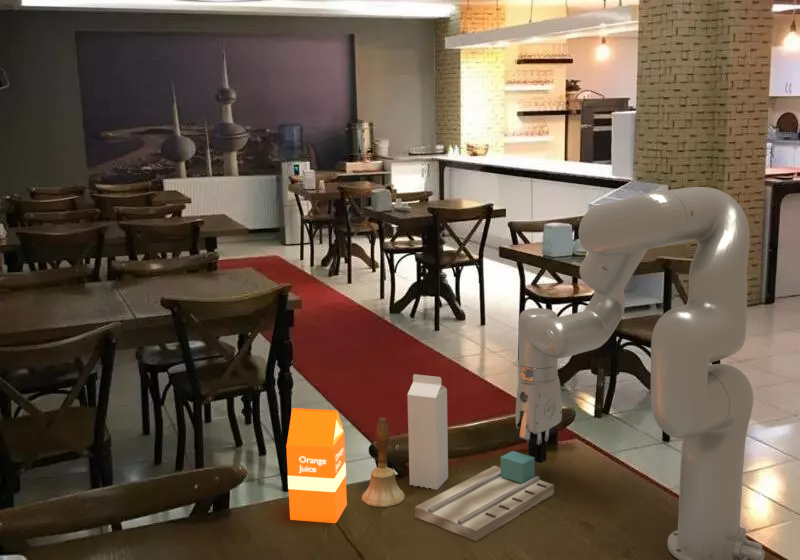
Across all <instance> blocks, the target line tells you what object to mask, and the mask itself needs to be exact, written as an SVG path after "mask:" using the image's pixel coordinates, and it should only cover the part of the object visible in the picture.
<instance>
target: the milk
mask: <svg viewBox="0 0 800 560" xmlns="http://www.w3.org/2000/svg"><path fill="white" fill-rule="evenodd" d="M407 426H408V427H407V429H408V430H407V431H408V433H407V435H408V436H407V437H408V464H409V465H408V469H409V470H408V471H409V474H408V476H409V486H411V485H413V486H412V487H417V486H420V487H419V488H423V487H425V489H429V488H431V489H430V490H434V491H437V490H438V489H440V488H441V487H442V485H443V484H444V483H445V482H446V481H447V480H448V479H449V454H448V453H449V449H448V447H449V445H448V444H449V443H448V436H449V435H448V389H447V388H446V387H445V386H444V385H443V384H442V378H441V376H433V375H432V376H431V375H423V374H416V373H414V374H413V375H412V384H411V385H410V388H409V390H408V392H407ZM438 491H439V490H438Z"/></svg>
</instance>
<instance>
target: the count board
mask: <svg viewBox="0 0 800 560" xmlns="http://www.w3.org/2000/svg"><path fill="white" fill-rule="evenodd" d="M554 495H555V484H554V483H550V482H547V481H544V480H541V477H540V476H537V475H535V477H534V478H532V479H530V480H528V481H526V482H525V483H523V484H522V483H519V482H516V481H513V480H510V479H507V478H504V477H501V466H497V465H493V466H491V467H490V468H487V469H485V470H483V471H481V472H479V473H477V474H476V475H474V476H472V477H470V478H468V479H466V480H464V481H462V482H460V483H458V484H456V485H454V486H452V487H450V488H448V489H447V490H445V491H442V492H441V493H439V494H436V495H435V496H433V497H431V498H429V499H427V500H424V501H423V502H422V503H421V502H420V504H417V505H416V506H414V517H415V518H417V519H419V520H422V521H424V522H427V523H428V524H429V523H430V524H432V525H434V526H436V527H439V528H442V529H444V530H447V531H450V532H452V533H454V534H457V535H459V536H461V537H464V538H466V539H469V540H472V541H474V542H478V541H479V540H481V539H482V538H484V537H486V536H487V535H489V534H491V533H492V532H494V531H495V530H497V529H499V528H501V527H502V526H504V525H505V524H508V523H509V522H510V521H512V520H514V519H516V518H517V517H519V516H520V514H521V513H522V514H524V513H525V512H524V511H526V510H527V511H529V510H530V509H532V508H533V506H534V507H535V506H537V505H539V504H540V503H542V502H544V501H546V500H547V499H549V498H551V497H553V496H554ZM543 500H544V501H543ZM541 501H542V502H541ZM538 503H539V504H538ZM531 507H532V508H531ZM528 509H529V510H528ZM527 511H526V512H527ZM523 512H524V513H523ZM522 514H521V515H522Z"/></svg>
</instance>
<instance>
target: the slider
mask: <svg viewBox="0 0 800 560" xmlns="http://www.w3.org/2000/svg"><path fill="white" fill-rule="evenodd" d="M499 458H500V462H499V463H500V467H501V477H504V478H507V479H510V480H513V481H516V482H519V483H522V484H523V483H525V482H526V481H528V480H530V479H532V478H534V477H535V476H536V473H535V471H536V469H535V468H536V466H535V465H536V464H535V457H531V456H529V454H528V455H527V454H524V453H521V452H518V451H514V450H512V451H509V452H507V453H505V454H504V455H501V456H500V457H499Z"/></svg>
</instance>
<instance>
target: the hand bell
mask: <svg viewBox="0 0 800 560" xmlns="http://www.w3.org/2000/svg"><path fill="white" fill-rule="evenodd" d="M375 441H376V446H377V449H378V450H377V451H378V457H377V459H378V460H377V462H378V463H377V467H376V468H374V469H372V470H371V472H370V479H369V484H368V487H367V488H366V490H364V492H363V493H362V496H361V501H362V502H363V503H364V504H366V505H367V506H368V505H369V506H371V507H376V508H377V507H378V508H388V507H393V506H394V507H395V506H396V505H398V504H399V505H400V504H401V503H402V502H403V501H404V500H405V498H406V494H405V493H404V491H403V490H402V489H400V487H399V486H398V484H397V480H396V479H397V478H396V475H395V471H394V469H393V468H390V467H388V451H387V450H388V445H389V442H390V429H389V426H388V423H387V419H386V418H385V417H378V421H377V425H376V429H375Z"/></svg>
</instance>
